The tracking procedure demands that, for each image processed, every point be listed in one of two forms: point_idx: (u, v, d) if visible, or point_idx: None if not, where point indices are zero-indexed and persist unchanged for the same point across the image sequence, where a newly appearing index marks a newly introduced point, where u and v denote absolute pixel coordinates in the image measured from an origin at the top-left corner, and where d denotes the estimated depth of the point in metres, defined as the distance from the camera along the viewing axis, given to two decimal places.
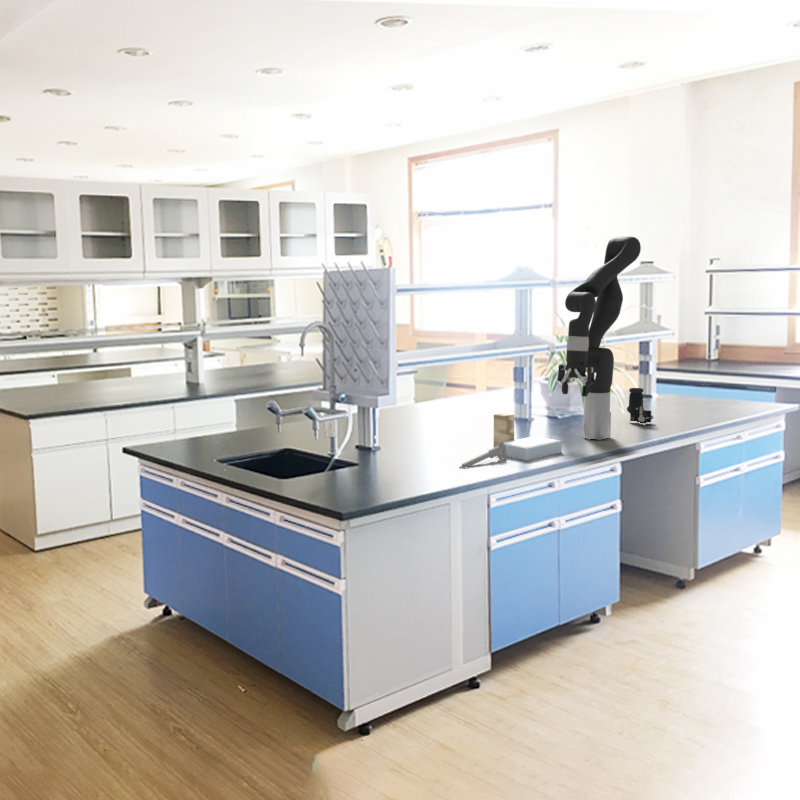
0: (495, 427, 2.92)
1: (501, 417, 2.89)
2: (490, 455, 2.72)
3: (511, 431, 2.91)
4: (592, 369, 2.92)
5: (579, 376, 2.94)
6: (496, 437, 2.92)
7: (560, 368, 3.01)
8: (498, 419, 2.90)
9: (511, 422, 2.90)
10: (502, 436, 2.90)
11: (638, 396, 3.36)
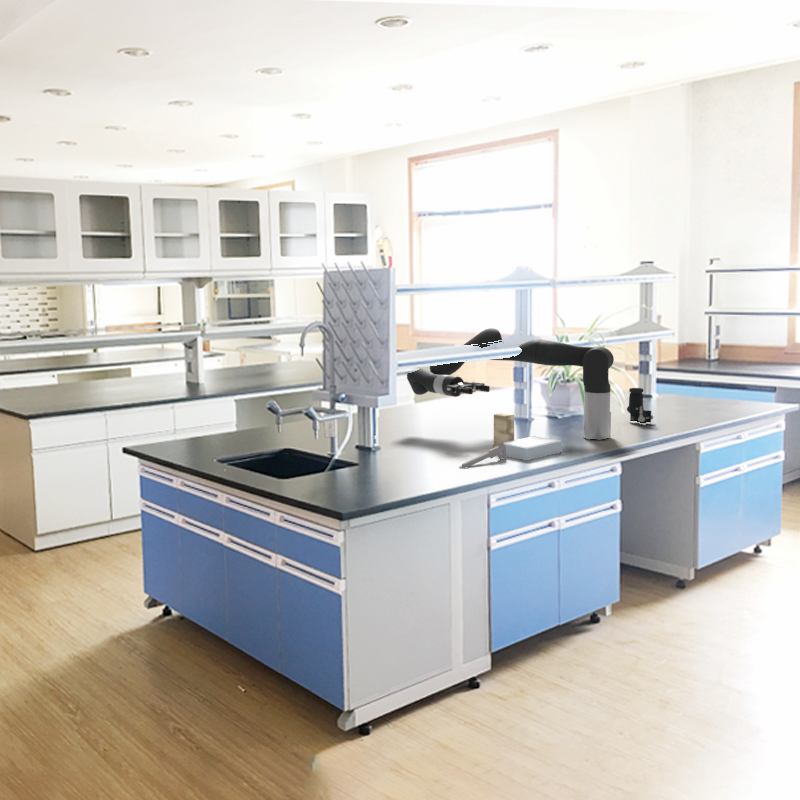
0: (495, 427, 2.92)
1: (501, 417, 2.89)
2: (490, 455, 2.72)
3: (511, 431, 2.91)
4: (447, 388, 3.01)
5: (460, 393, 3.02)
6: (496, 437, 2.92)
7: (474, 389, 3.09)
8: (498, 419, 2.90)
9: (511, 422, 2.90)
10: (502, 436, 2.90)
11: (638, 396, 3.36)
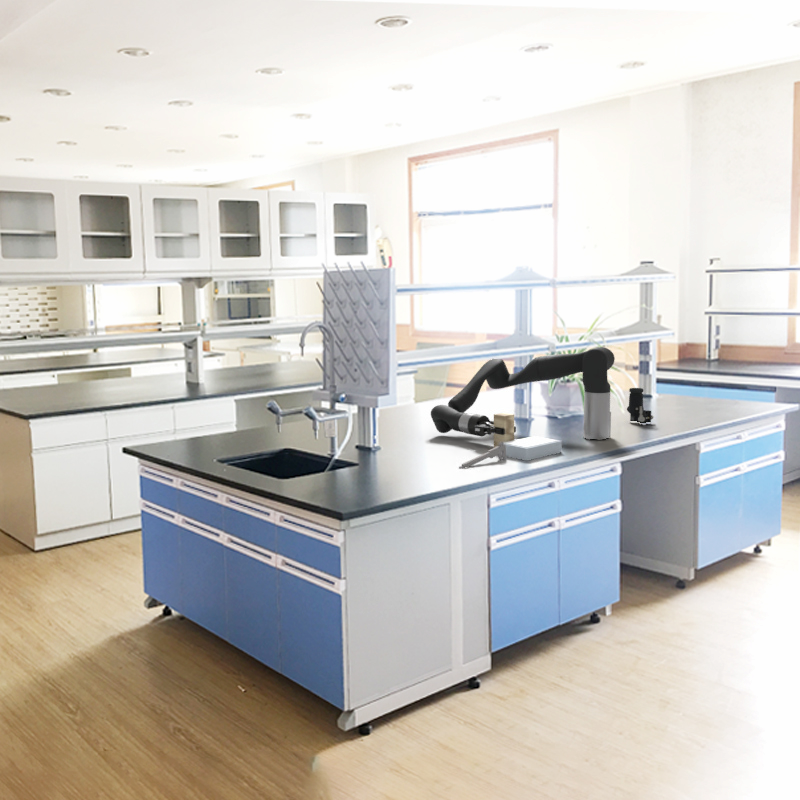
0: None
1: (501, 417, 2.89)
2: (490, 455, 2.72)
3: (511, 431, 2.91)
4: (476, 429, 2.93)
5: None
6: (496, 437, 2.92)
7: None
8: (498, 419, 2.90)
9: (511, 422, 2.90)
10: (502, 436, 2.90)
11: (638, 396, 3.36)
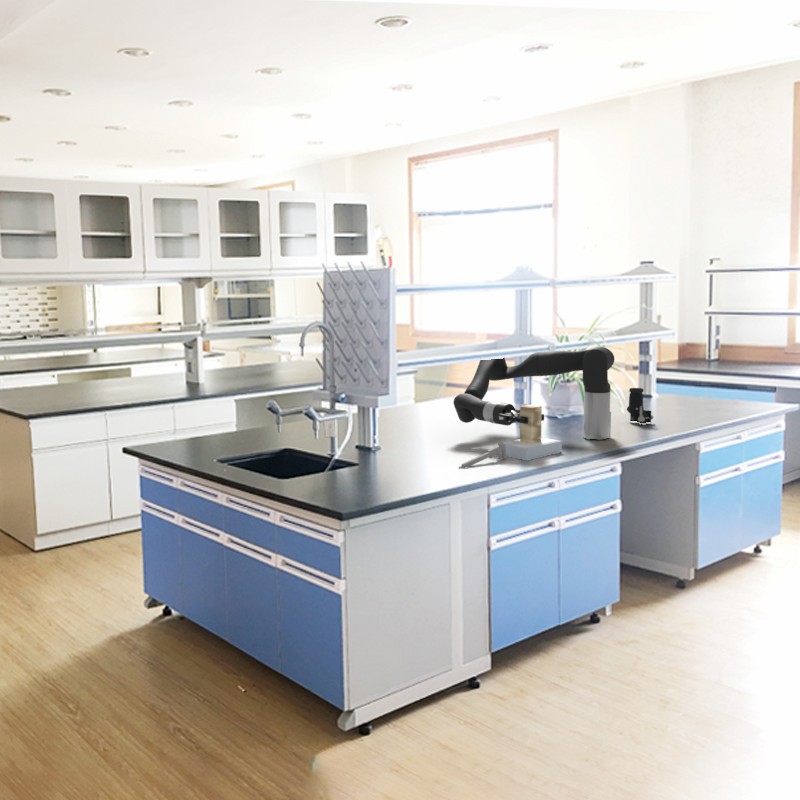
0: None
1: (528, 409, 2.79)
2: (490, 455, 2.72)
3: (538, 423, 2.81)
4: (500, 417, 2.84)
5: None
6: (523, 430, 2.82)
7: None
8: (525, 411, 2.81)
9: (538, 415, 2.81)
10: (529, 429, 2.80)
11: (638, 396, 3.36)
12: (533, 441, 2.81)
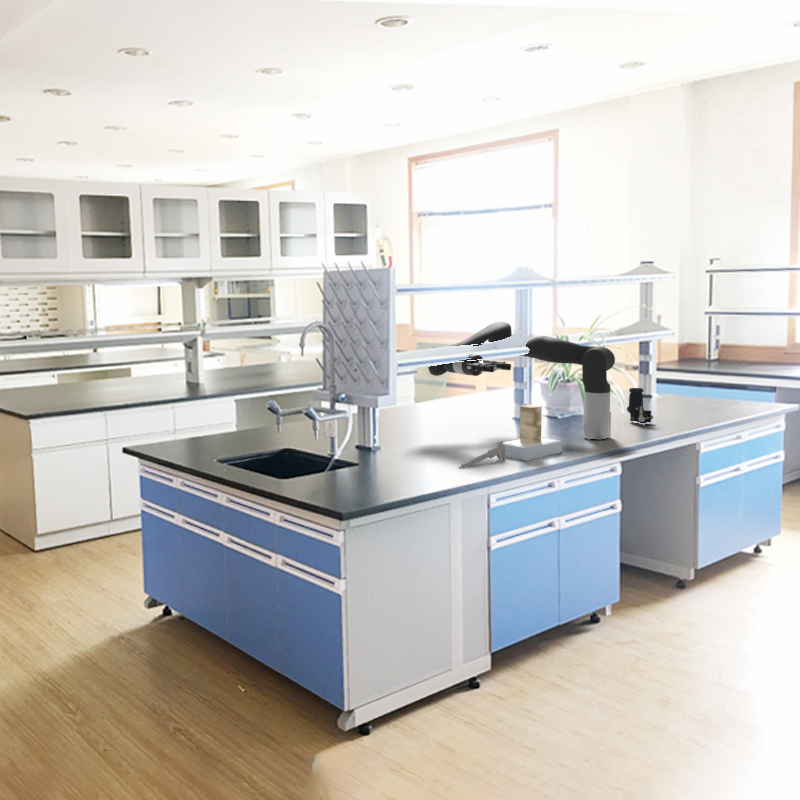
0: (522, 419, 2.82)
1: (528, 409, 2.79)
2: (489, 455, 2.72)
3: (538, 423, 2.81)
4: (468, 367, 2.93)
5: (481, 372, 2.93)
6: (523, 430, 2.82)
7: None
8: (525, 411, 2.81)
9: (538, 415, 2.81)
10: (529, 429, 2.80)
11: (638, 396, 3.36)
12: (533, 441, 2.81)
